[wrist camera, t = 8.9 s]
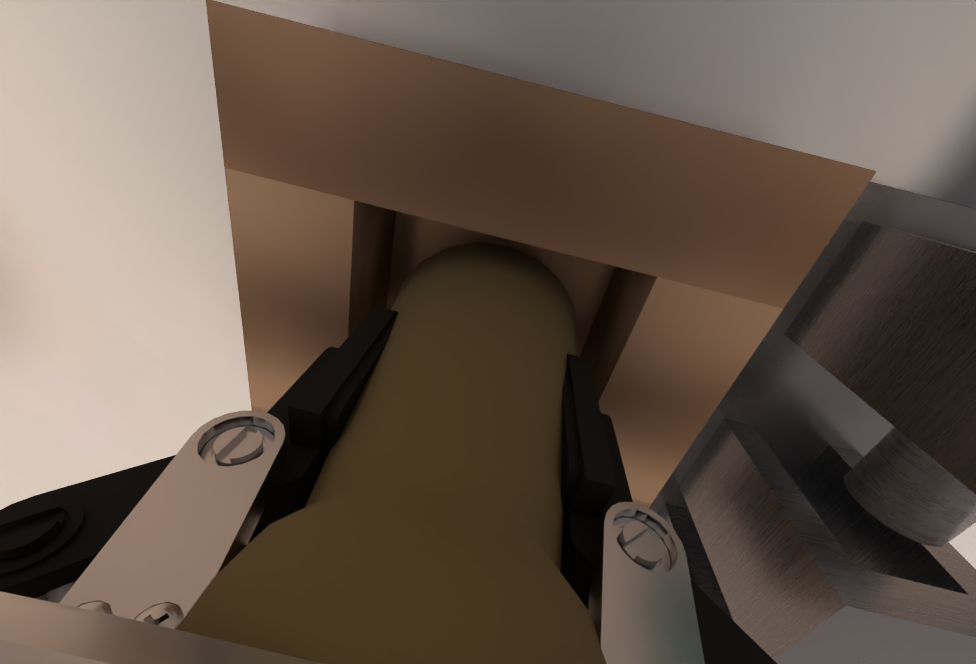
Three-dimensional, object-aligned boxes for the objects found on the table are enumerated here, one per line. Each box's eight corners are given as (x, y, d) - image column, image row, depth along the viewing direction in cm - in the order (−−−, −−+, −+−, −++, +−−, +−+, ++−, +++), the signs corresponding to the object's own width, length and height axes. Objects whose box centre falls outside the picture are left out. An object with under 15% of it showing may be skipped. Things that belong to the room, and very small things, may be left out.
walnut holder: (317, 41, 12) (205, -2, 8) (761, 156, 12) (876, 170, 8) (317, 395, 18) (258, 469, 14) (598, 464, 18) (615, 556, 15)
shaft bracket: (839, 176, 12) (1261, 246, 5) (1055, 231, 12) (1768, 376, 5) (632, 502, 19) (684, 705, 13) (763, 535, 20) (885, 753, 13)
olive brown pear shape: (613, 353, 12) (889, 1159, 3) (471, 429, 15) (348, 1017, 5) (500, 198, 10) (93, 1078, 1) (356, 313, 13) (-206, 909, 3)
